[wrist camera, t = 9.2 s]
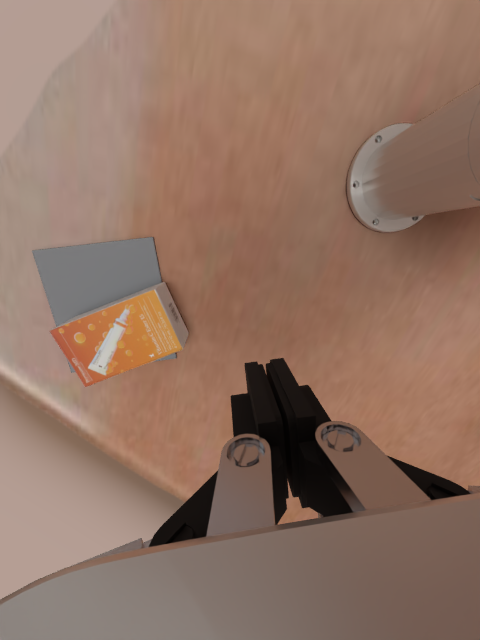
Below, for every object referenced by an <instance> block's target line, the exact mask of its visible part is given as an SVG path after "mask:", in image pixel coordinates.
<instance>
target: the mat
mask: <svg viewBox="0 0 480 640" xmlns="http://www.w3.org/2000/svg"><path fill="white" fill-rule="evenodd" d="M32 252H33V255H34V259H35V262H36V265H37V268H38V271H39V274H40V277H41V280H42V283H43V286H44V289H45V293H46V296H47V299H48V302H49V305H50V308H51V311H52V314H53V317H54V320H55V323H56V327H57V326H59V325H61V324H62V323H64V322H66V321H68V320H70V319H72V318H74V317H75V316H78V315H81V314H83V313H86V312H88V311H91V310H94V309H96V308H99V307H101V306H104V305H106V304H109V303H111V302H114V301H116V300H119V299H121V298H124V297H126V296H129V295H131V294H134V293H136V292H139V291H141V290H144V289H146V288H149V287H152V286H154V285H157V284H159V283H162V279H161V274H160V269H159V264H158V258H157V253H156V248H155V243H154V238H153V237H149V238H140V239H131V240H122V241H113V242H104V243H96V244H87V245H78V246H69V247H60V248H51V249H42V250H33V251H32ZM174 358H177V356H176V353H173V354H171V355H168V356H165V357H163V358H160V359H158V360H155V361H160V360H167V359H174ZM67 361H68V359H67ZM68 364H69V367H70V370H71V373H72V372H75V370H74V368H73V367H72V365H71V364H70V362H69V361H68Z"/></svg>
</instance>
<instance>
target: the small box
mask: <svg viewBox="0 0 480 640" xmlns="http://www.w3.org/2000/svg"><path fill="white" fill-rule="evenodd" d="M50 333H51V334H52V336H53V337H54V339H55V341H56V342H57V344H58V345H59V347H60V348H61V350H62V351H63V353H64V354H65V356H66V358H67V359H68V361H69V362H70V364H71V365H72V367H73V368H74V370H75V372H76V373H77V375H78V376H79V378H80V379H81V381H82V382H83V384H84V386H85V387H87V386H90V385H92V384H95V383H98V382H100V381H103V380H106V379H108V378H111V377H114V376H116V375H119V374H121V373H124V372H126V371H129V370H132V369H134V368H137V367H140V366H142V365H145V364H148V363H150V362H153V361H155V360H158V359H160V358H163V357H165V356H168V355H171V354H173V353H176V352H178V351H181V350H183V348H184V346H185V343H186V340H187V337H188V334H189V332H188V330H187V328H186V326H185V324H184V322H183V320H182V318H181V316H180V314H179V311H178V309H177V307H176V305H175V303H174V301H173V299H172V296H171V294H170V292H169V290H168V288H167V286H166V283H165V282H162V283H159V284H157V285H154V286H152V287H149V288H146V289H144V290H141V291H139V292H136V293H134V294H131V295H129V296H126V297H124V298H121V299H119V300H116V301H114V302H111V303H109V304H106V305H104V306H101V307H99V308H96V309H94V310H91V311H88V312H86V313H83V314H81V315H78V316H75V317H74V318H72V319H70V320H68V321H66V322H64V323H62V324H61V325H59V326H57V327H55V328H53V329H51V330H50Z"/></svg>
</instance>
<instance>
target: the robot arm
mask: <svg viewBox="0 0 480 640" xmlns="http://www.w3.org/2000/svg"><path fill="white" fill-rule="evenodd" d="M375 141H376V142H375ZM353 185H354V187H353ZM347 196H348V201H349V204H350V207H351V209H352V211H353V213H354V215H355V216H356V218H357V219H358V220H359V221H360V222H361V223H362V224H363V225H365V226H366V227H368V228H370V229H372V230H374V231H379V232H396V231H401V230H404V229H407V228H409V227H411V226H412V225H414V224H416V223H417V222H418V221H420V220H421V219H422V218H423V217H424V216H425V215H428V214H434V213H440V212H447V211H453V210H459V209H466V208H472V207H478V206H480V83H479V84H478V85H476V86H474V87H473V88H471V89H470V90H468V91H466V92H465V93H463V94H462V95H460V96H458V97H457V98H455V99H454V100H452V101H450V102H449V103H447V104H446V105H444V106H442V107H441V108H439V109H438V110H436V111H435V112H433V113H431V114H430V115H428V116H427V117H425V118H423V119H422V120H420V121H419V122H417V123H415V124H410V123H398V124H393V125H390V126H387V127H385V128H383V129H381V130H379V131H378V132H376V133H375V134H374V135H372V136H371V137H370V138H369V139H368V140H366V141H365V142H364V144H363V145H362V146H361V147H360V148H359V150H358V151H357V153H356V155H355V156H354V158H353V160H352V163H351V166H350V168H349V172H348V177H347ZM372 222H373V223H372ZM245 373H246V381H247V390H248V393H246V394H239V395H232V396H231V407H232V420H233V434H234V437H233V438H232V439H230V440H229V441H228V442H227V443H226V444H225V445H224V447H223V450H222V453H221V458H220V464H219V469H218V471H217V472H216V473H215V474H214V475H213V476H212V477H211V478H210V479H209V480H208V481H207V482H206V483H205V484H204V485H203V486H202V487H201V488H200V489H199V490H198V491H197V492H196V493H195V494H194V495H193V496H192V497H191V498H189V499H188V500H187V501H186V502H185V503H184V504H183V505H182V506H181V507H180V508H179V509H178V510H177V511H176V512H175V513H174V514H173V515H172V516H171V517H170V518H169V519H168V520H167V521H166V522H165V523H164V524H163V525H162V526H161V527H160V528H159V530H158V531H157V532H156V534H155V535H154V537H153V539H151V540H149V541H146V542H144V543H143V541H142V538H140V539H138V540H135V541H133V542H130V543H128V544H125V545H123V546H120V547H118V548H115V549H113V550H110V551H108V552H105V553H103V554H100V555H98V556H95V557H93V558H90V559H88V560H85V561H83V562H80V563H78V564H75V565H73V566H70V567H67V568H64V569H62V570H60V571H57V572H55V573H52V574H50V575H48V576H45V577H43V578H40V579H38V580H36V581H34V582H32V583H30V584H28V585H26V586H25V587H23V588H21V589H19V590H17V591H15V592H13V593H12V594H10V595H8V596H6V597H4V598H2V599H1V600H0V640H480V486H468V490H466V489H464V488H463V487H461V486H460V485H458V484H456V483H454V482H452V481H450V480H447V479H445V478H442V477H440V476H437V475H434V474H432V473H429V472H427V471H424V470H422V469H419V468H417V467H414V466H412V465H409V464H407V463H404V462H402V461H399V460H397V459H394V458H392V457H389V456H387V455H385V454H384V453H383V452H382V451H381V450H380V449H379V448H378V447H377V446H376V445H375V444H374V443H373V442H372V441H371V440H370V439H369V438H368V437H367V436H366V435H365V434H364V433H363V432H362V431H361V430H360V429H358V428H357V427H356V426H353V425H351V424H349V423H346V422H342V421H331V420H330V418H329V417H328V415H327V413H326V412H325V410H324V409H323V407H322V406H321V404H320V402H319V401H318V399H317V398H316V396H315V395H314V393H313V391H312V390H311V388H310V387H309V386H308V385H304V386H299V385H298V383H297V382H296V380H295V378H294V376H293V375H292V373H291V371H290V369H289V368H288V366H287V364H286V362H285V360H284V359H283V358H280V359H272V360H270V363H268V364H266V373H267V375H266V373H265V370H264V367H263V365H262V364H260V365H258V363H257V362H250V363H245ZM287 479H288V482H289V485H290V489H291V492H292V495H293V497H299V499H300V503H301V506H302V508H307V507H310V508H311V509H313V510H315V511H316V512H318V518H316V519H310V520H304V521H298V522H292V523H286V524H280V525H278V524H277V523H278V522H279V520H280V519H281V517H282V516H283V514H284V513H285V511H286V510H287V505H286V498H289V495H288V482H287Z"/></svg>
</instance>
